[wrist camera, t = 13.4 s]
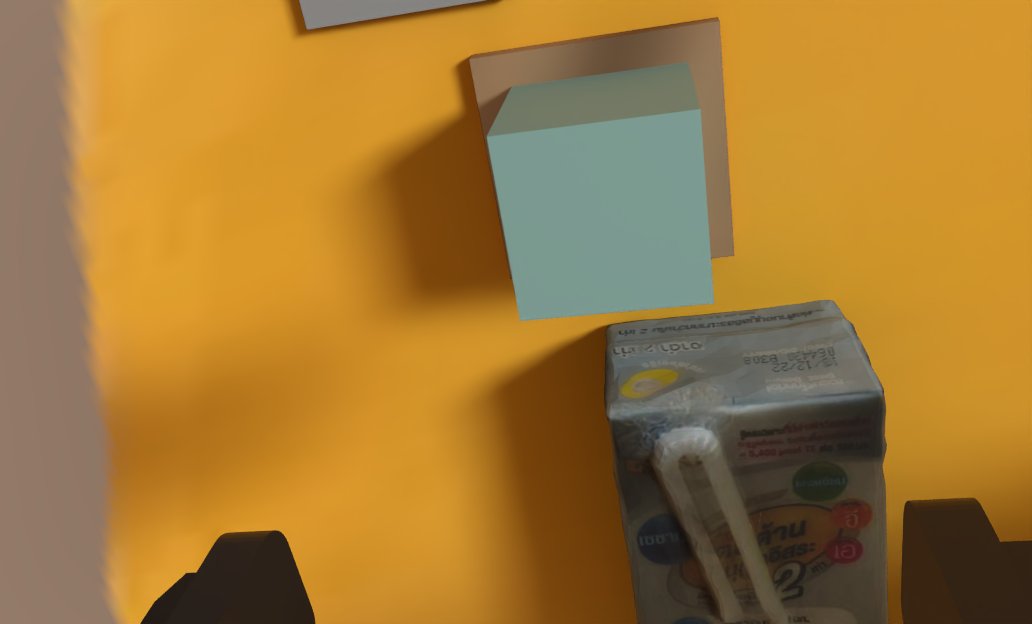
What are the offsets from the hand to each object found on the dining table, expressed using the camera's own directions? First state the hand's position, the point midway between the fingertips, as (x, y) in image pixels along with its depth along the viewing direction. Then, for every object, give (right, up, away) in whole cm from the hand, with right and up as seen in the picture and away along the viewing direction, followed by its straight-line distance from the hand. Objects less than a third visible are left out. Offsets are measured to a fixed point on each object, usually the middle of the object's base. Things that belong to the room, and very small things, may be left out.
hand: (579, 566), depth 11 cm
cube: (+2, +8, +15) cm, 17 cm away
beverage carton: (+8, -5, +22) cm, 23 cm away
